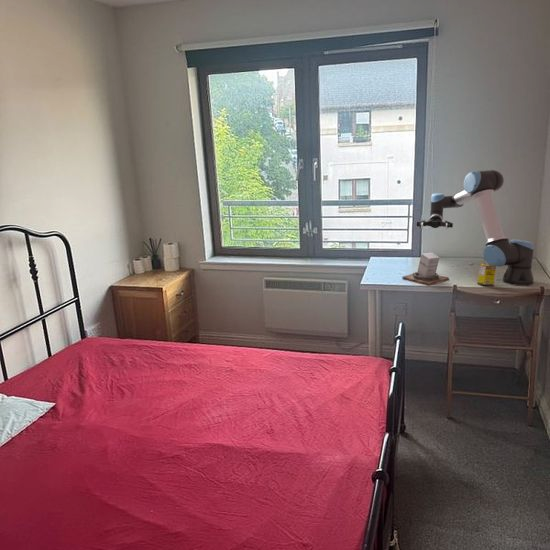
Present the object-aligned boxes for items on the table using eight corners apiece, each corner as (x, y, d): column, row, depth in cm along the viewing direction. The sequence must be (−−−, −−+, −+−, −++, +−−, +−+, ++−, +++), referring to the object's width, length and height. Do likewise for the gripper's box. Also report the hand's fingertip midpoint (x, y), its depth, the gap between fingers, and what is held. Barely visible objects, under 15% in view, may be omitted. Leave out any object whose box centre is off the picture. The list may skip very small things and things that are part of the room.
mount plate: (448, 279, 278) (449, 274, 277) (428, 285, 268) (429, 280, 267) (422, 273, 292) (422, 268, 291) (402, 278, 282) (402, 274, 281)
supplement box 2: (493, 285, 264) (496, 265, 262) (483, 285, 263) (486, 265, 261) (487, 283, 270) (489, 263, 268) (477, 283, 269) (479, 263, 267)
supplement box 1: (416, 273, 282) (420, 253, 276) (427, 271, 284) (431, 251, 279) (424, 279, 276) (429, 258, 270) (435, 277, 278) (440, 257, 273)
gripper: (456, 227, 299) (456, 234, 280) (414, 226, 307) (411, 232, 288) (457, 215, 297) (457, 221, 278) (414, 214, 305) (411, 219, 286)
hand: (433, 226), depth 283 cm, fingers open, 13 cm apart
